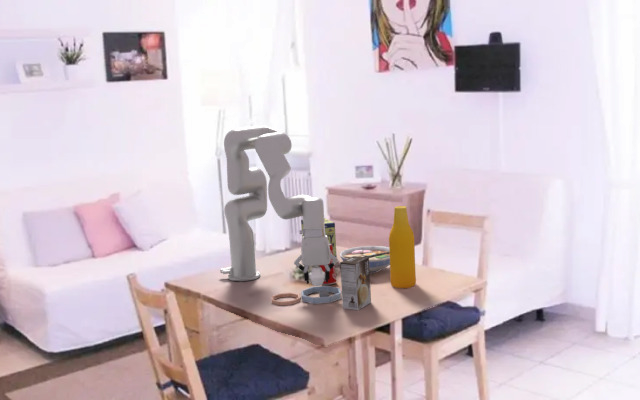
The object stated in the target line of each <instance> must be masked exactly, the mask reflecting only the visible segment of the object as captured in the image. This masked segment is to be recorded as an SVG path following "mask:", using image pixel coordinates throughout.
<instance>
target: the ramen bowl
mask: <svg viewBox="0 0 640 400" xmlns="http://www.w3.org/2000/svg"><path fill="white" fill-rule="evenodd" d="M339 256H340V258H341V260H342V261H344V260H346V259H348V258H350V257H353V256H357V257H369V271H370V274H374V273H378V272H379V271H381V270H384V269H386V268H387V267H390V252H389V247H388V246H384V245H380V246H379V245H365V246H364V245H363V246H356V247H351V248H347V249H343V250H342V251H341V252H339Z"/></svg>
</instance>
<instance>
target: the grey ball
mask: <svg viewBox="0 0 640 400" xmlns="http://www.w3.org/2000/svg"><path fill="white" fill-rule="evenodd" d="M318 293H319V294H318V295H319V296H318V297H329V296H330V292H328V291H327V290H322V291H321V292H318Z"/></svg>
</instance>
